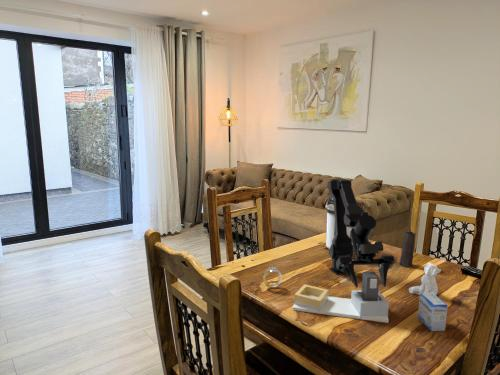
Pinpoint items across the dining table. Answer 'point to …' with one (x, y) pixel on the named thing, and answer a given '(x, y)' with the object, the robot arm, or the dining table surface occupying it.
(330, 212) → the coffee press
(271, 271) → the ring
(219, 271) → the dining table surface
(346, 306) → the panel board
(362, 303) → the raised dock
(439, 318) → the medicine box
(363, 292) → the plug
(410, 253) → the butter churn
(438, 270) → the white creature statuette
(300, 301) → the low dock
